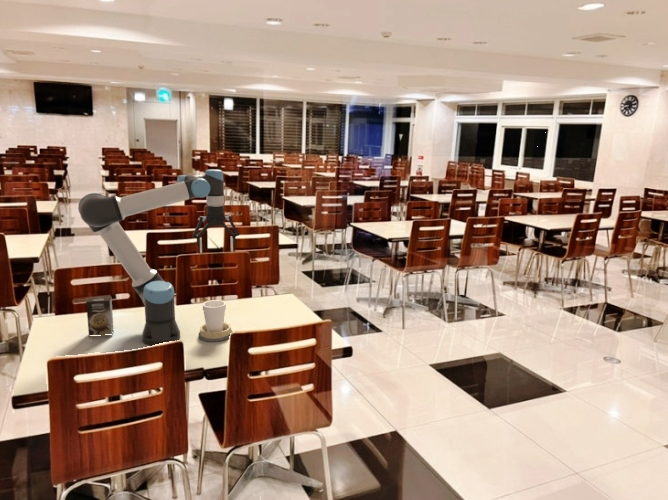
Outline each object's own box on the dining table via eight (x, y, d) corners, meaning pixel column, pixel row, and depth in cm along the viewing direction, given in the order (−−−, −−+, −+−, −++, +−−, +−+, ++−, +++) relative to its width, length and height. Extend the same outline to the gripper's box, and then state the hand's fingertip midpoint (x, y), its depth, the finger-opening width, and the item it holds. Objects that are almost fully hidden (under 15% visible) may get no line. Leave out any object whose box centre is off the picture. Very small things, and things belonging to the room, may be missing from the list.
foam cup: (229, 329, 225) (228, 300, 222) (222, 337, 216) (221, 308, 213) (207, 327, 225) (206, 299, 222) (200, 336, 217) (199, 306, 213)
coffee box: (88, 338, 214) (85, 301, 210) (91, 333, 220) (88, 296, 216) (112, 337, 216) (109, 300, 213) (114, 331, 222) (111, 295, 219)
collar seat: (199, 343, 212) (199, 335, 211) (197, 330, 225) (197, 322, 224) (234, 340, 216) (234, 331, 216) (230, 327, 229) (230, 320, 229)
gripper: (242, 203, 235) (243, 248, 240) (185, 204, 228) (187, 251, 233) (245, 205, 228) (245, 252, 233) (186, 206, 221) (188, 255, 226)
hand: (216, 252), depth 233 cm, fingers open, 13 cm apart
